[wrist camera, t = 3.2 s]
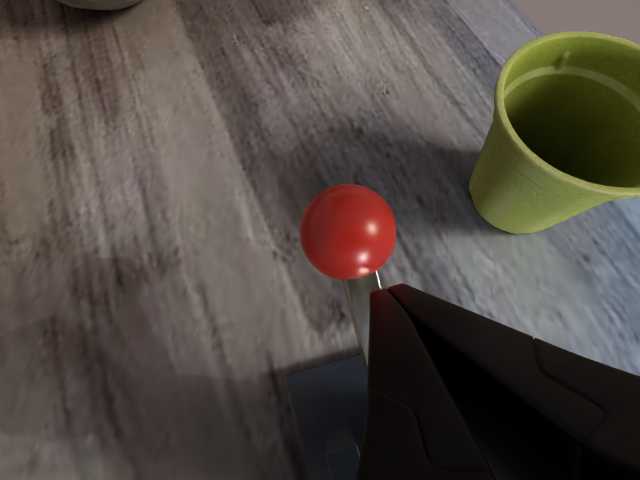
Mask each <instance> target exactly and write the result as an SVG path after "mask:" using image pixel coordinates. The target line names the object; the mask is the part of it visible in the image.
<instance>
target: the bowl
mask: <svg viewBox="0 0 640 480" xmlns="http://www.w3.org/2000/svg"><path fill="white" fill-rule="evenodd" d="M57 1H59V2H61V3H64V4H66V5H68V6H72V7H76V8H84V9H95V10H117V9H122V8H126V7H129V6H132V5H134V4H136V3H138V2H140V1H141V0H57Z"/></svg>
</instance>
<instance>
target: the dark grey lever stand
mask: <svg viewBox="0 0 640 480" xmlns="http://www.w3.org/2000/svg"><path fill="white" fill-rule="evenodd" d="M287 381H288V385H289V390H290V394H291V399H292V403H293V408H294V412H295V417H296V421H297V426H298V430H299V435H300V439H301V444H302V448H303V453H304V457H305V462H306V466H307V471H308V475H309V480H356V475H357V470H358V464H359V459H360V454H361V448H362V442H363V435H364V428H365V418H366V404H367V389H368V388H367V375H366V372H365V368H364V364H363V360H362V356H361V354H359V355H355V356H352V357H348V358H345V359H341V360H338V361H334V362H331V363H327V364H324V365H320V366H317V367H313V368H310V369H306V370H303V371H299V372H296V373H293V374H289V375H287Z"/></svg>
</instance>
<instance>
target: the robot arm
mask: <svg viewBox="0 0 640 480" xmlns="http://www.w3.org/2000/svg"><path fill="white" fill-rule="evenodd" d="M367 388H368V389H367V404H366V418H365V428H364V435H363V442H362V448H361V454H360V459H359V464H358V470H357V475H356V480H640V376H637V375H634V374H631V373H628V372H625V371H622V370H619V369H616V368H613V367H611V366H608V365H605V364H602V363H599V362H596V361H593V360H591V359H588V358H585V357H582V356H580V355H577V354H575V353H572V352H569V351H567V350H564V349H562V348H559V347H557V346H554V345H552V344H549V343H547V342H544V341H542V340H540V339H537V338H535V339H534V340H533V337H532V336H530V335H527V334H525V333H522V332H520V331H517V330H515V329H513V328H510V327H508V326H505V325H503V324H500V323H498V322H496V321H493V320H491V319H488V318H486V317H483V316H481V315H479V314H476V313H474V312H471V311H469V310H467V309H464V308H462V307H459V306H457V305H454V304H452V303H450V302H447V301H445V300H442V299H440V298H437V297H435V296H433V295H430V294H428V293H425V292H423V291H420V290H418V289H416V288H413V287H411V286H408V285H406V284H398V285H395V286H391V287H388V289H380V290H377V291H373V292H371V293H370V306H369V341H368V377H367Z"/></svg>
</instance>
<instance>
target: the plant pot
mask: <svg viewBox="0 0 640 480" xmlns="http://www.w3.org/2000/svg"><path fill="white" fill-rule="evenodd" d="M494 106H495V108H494V114H493V122H492V125H491V127H490V130H489V132H488V135H487V138H486V140H485V143H484V145H483V148H482V150H481V153H480V155H479V157H478V160H477V162H476V165H475V167H474V170H473V172H472V175H471V178H470V181H469V190H470V193H471V196H472V199H473V202H474V205H475V209H476V210H477V211H478V213H479V214H480V215H481V216H482V217H483V218H484V219H485V220H486V221H487V222H489V223H490V224H492V225H493V226H495V227H497V228H499V229H501V230H504V231H507V232H510V233H515V234H523V233H533V232H538V231H542V230H544V229H546V228H549V227H551V226H553V225H555V224H557V223H560V222H562V221H564V220H566V219H568V218H570V217H572V216H575V215H577V214H579V213H582V212H584V211H586V210H588V209H591V208H593V207H595V206H597V205H600V204H602V203H604V202H607V201H609V200H617V199H621V198H625V197H639V196H640V46H639V45H636V44H634V43H633V42H631V41H628V40H624V39H622V38H619V37H615V36H608V35H606V34H601V33H596V32H580V31H579V32H560V33H554V34H550V35H545V36H542V37H539V38H536V39H534V40H532V41H530V42H528V43H526V44H524V45H523V46H521V47H520V48H519V49H517V50H516V51H515V52H514V53H513V54H512V55H511V56H510V57H509V58H508V59H507V61H506V62H505V64H504V65H503V67H502V69H501V71H500V74H499V76H498V78H497V82H496V86H495V91H494Z"/></svg>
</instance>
